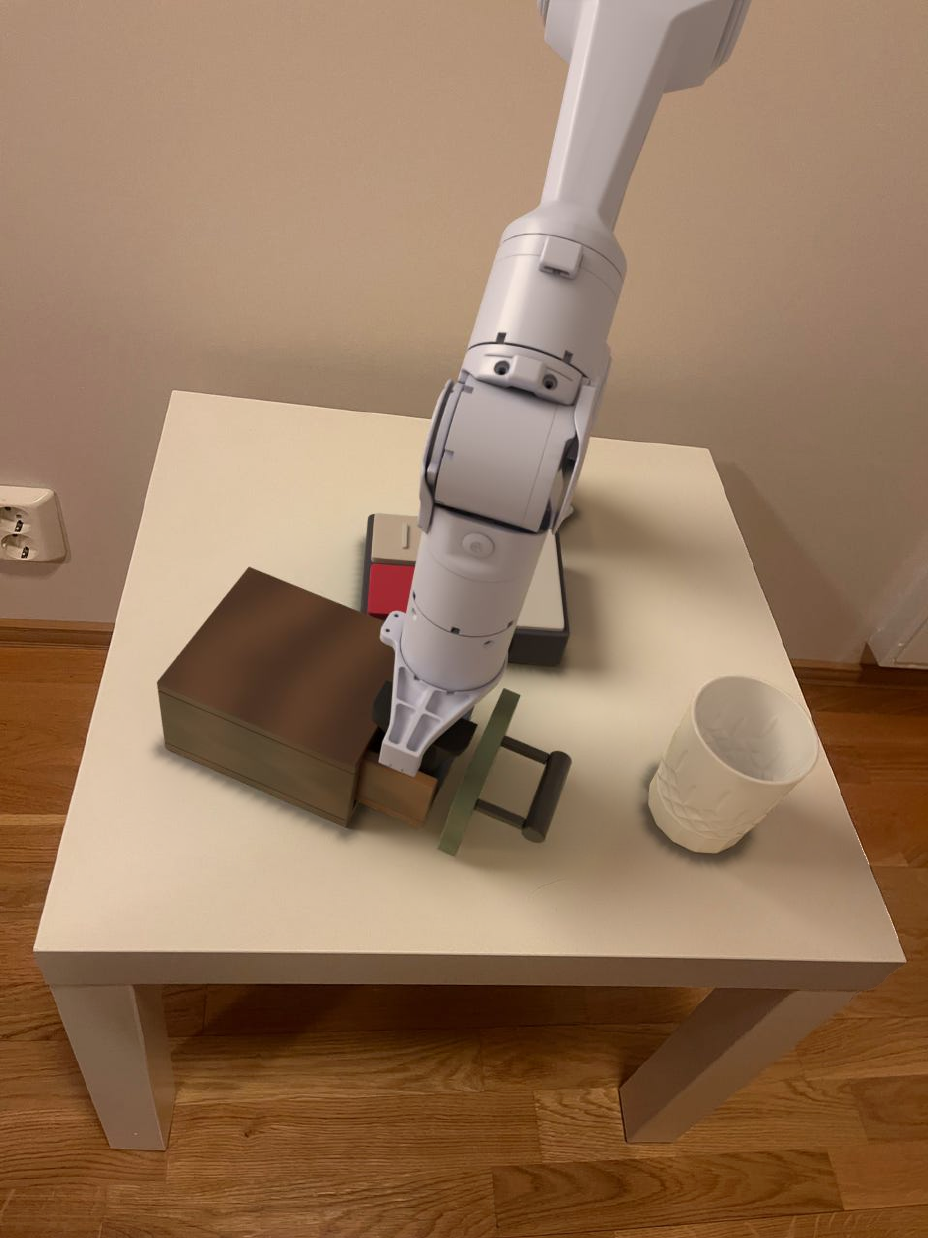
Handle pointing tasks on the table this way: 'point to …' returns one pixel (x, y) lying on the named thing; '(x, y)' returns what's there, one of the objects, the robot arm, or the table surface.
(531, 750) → the drawer
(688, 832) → the white cup
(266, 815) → the table surface
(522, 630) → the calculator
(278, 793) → the cabinet
